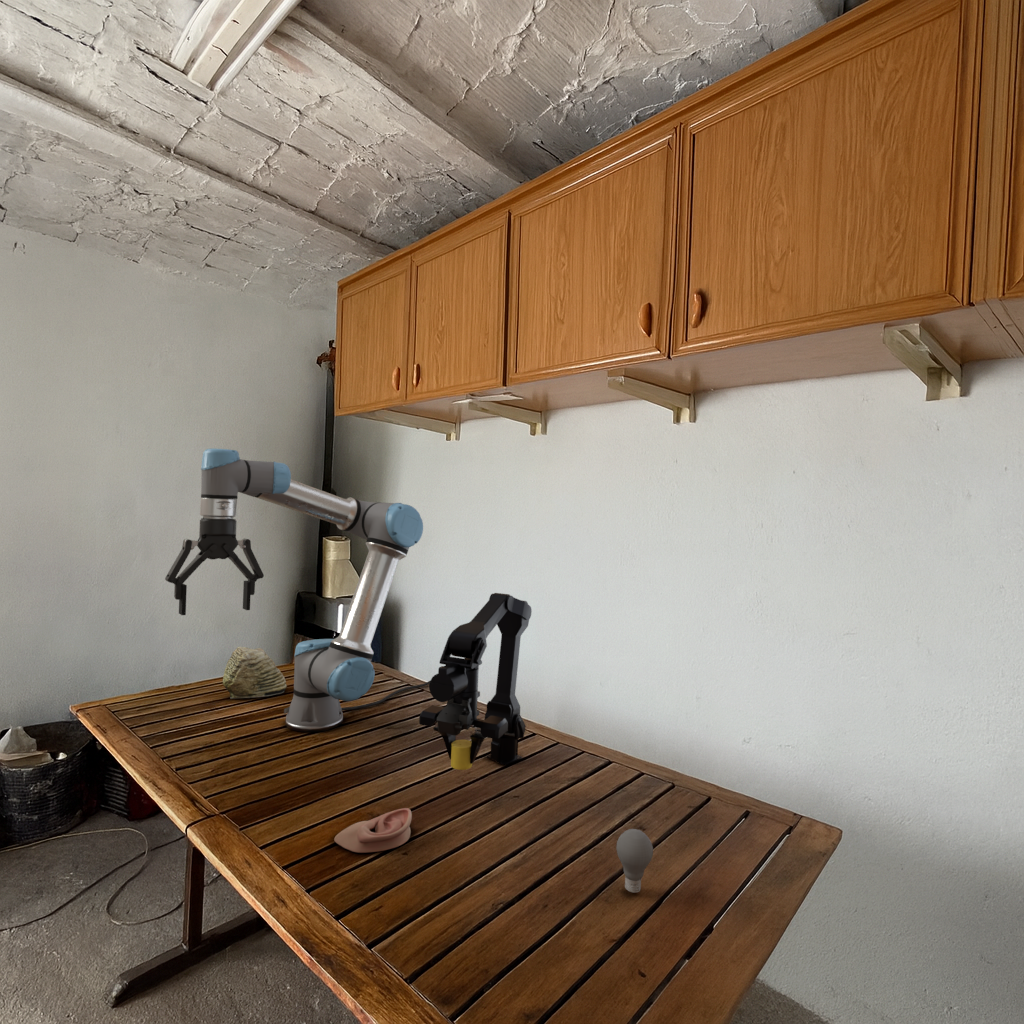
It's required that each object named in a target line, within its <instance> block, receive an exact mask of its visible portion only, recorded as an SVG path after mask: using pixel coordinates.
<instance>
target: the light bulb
mask: <svg viewBox="0 0 1024 1024" xmlns="http://www.w3.org/2000/svg"><path fill="white" fill-rule="evenodd" d="M615 849H616V854H617V857H618V859H619V861H620V863H621V865H622V867H623V873H624V874H623V875H624V876H625V878H624V888H625V890H627V891H628V892H630V893H634V894H635V893H639V892H640V891H641V889H642V887H641V886H642V879H643V877H644V875H645V871H646V868H647V867H648V866H649V864H650V863H651V861H652V859H653V855H654V847H653V843H652V841H651V838H649V836H648V835H647V834H646V833H645V832H643V831H642V830H641V829H636V828H629V829H627V830H625V831H623V832H622V833H621V834H620V835H619V837H618V839H617V841H616V847H615Z"/></svg>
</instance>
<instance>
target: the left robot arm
mask: <svg viewBox="0 0 1024 1024" xmlns="http://www.w3.org/2000/svg"><path fill="white" fill-rule="evenodd" d="M200 472H201V476H200V479H201V480H200V481H201V482H200V483H201V484H200V507H199V515H200V516H201V518H200V519H199V532H198V533H199V535H198V536H199V538H198V539H197V540H193V539H188V538H184V539H183V541H182V545H181V546H182V547H181V550H180V551H179V553H178V555H177V556H176V559H175V560H174V562H173V563H172V565H171V567H170V569H169V570H168V573H167V574H166V576H165V578H164V579H165V581H166V582H168V583H171V584H173V586H174V593H173V596H174V599H175V600H176V601H178V614H179V615H181V616H186V615H187V591H188V590H187V588H188V587H187V584H185V582H186V581H187V580H188V579H189V578H190V577H191V575H192V574H194V572H195V571H196V570H197V569H198V568H199V567H200V566H201V564H202V563H204V562H205V561H206V560H207V559H208V560H217V559H219V560H226V559H229V561H231V562H232V563H233V565H234V566H235V567H236V568H237V569H238V570H239V572H240V573H241V574H242V575H243V576H244V577H245V578H246V580H243V587H242V588H243V589H242V593H243V594H242V609H243V610H245V611H250V610H251V596H254V595H255V592H256V591H255V590H256V582H257V581H258V580H260V579H263V578H264V576H265V575H264V572H263V570H262V568H261V565H260V564H259V561H258V560H257V558H256V556H255V554H254V552H253V550H252V541H251V539H249V538H242V539H237V520H236V518H235V517H237V515H238V493H240V494H242V495H243V494H244V495H247V496H250V497H252V498H256V499H259V500H262V501H265V502H269V503H271V504H275V505H277V506H280V507H283V508H286V509H289V510H292V511H296V512H299V513H300V514H304V515H307V516H310V517H313V518H316V519H320V520H323V521H325V522H327V523H328V522H329V523H331V524H334V525H336V527H337V529H339V530H341V531H343V532H347V533H349V534H352V535H355V536H357V537H358V538H361V539H364V540H366V542H365V545H366V547H367V550H368V553H367V555H366V558H365V562H364V564H363V567H362V570H361V572H360V575H359V578H358V581H357V584H356V587H355V590H354V592H353V596H352V598H351V601H350V604H349V607H348V610H347V611H346V612H347V613H346V615H345V618H344V622H343V624H342V627H341V630H340V632H339V635H338V636H336V637H335V638H319V639H308V640H303V641H300V642H297V644H296V646H295V650H294V655H293V657H294V672H293V695H292V696H293V697H292V699H291V702H290V704H289V706H288V707H285V708H283V714H284V715H285V714H286V715H285V726H286V728H287V729H289V730H291V731H294V732H295V731H296V732H301V733H316V732H325V731H329V730H332V729H335V728H337V727H339V726H340V725H342V723H343V722H344V714H343V711H344V712H345V711H353V710H359V709H366V708H370V707H374V706H377V705H379V704H382V703H384V702H385V701H387V700H388V699H390V698H391V697H393V696H395V695H397V694H400V693H401V692H405V691H409V690H413V689H418V688H423V687H426V686H429V683H430V681H431V679H430V680H428V681H426V682H424V683H421V684H416V685H411V686H406V687H403V688H400V689H397V690H394V691H393V692H391V693H389V694H387V695H386V696H384V697H383V698H381V699H380V700H378V701H374V702H371V703H367V704H361V705H354V706H344V707H342V706H341V702H340V701H342V702H353V701H357V700H359V699H360V698H361V697H363V696H364V695H366V693H367V692H369V690H370V689H371V688H372V685H373V684H374V681H375V676H376V675H375V674H376V671H375V669H374V665H373V664H372V660H373V657H374V653H375V652H374V650H373V649H372V641H373V639H374V636H375V633H376V630H377V627H378V624H379V621H380V618H381V616H382V612H383V609H384V607H385V603H386V601H387V598H388V594H389V592H390V589H391V586H392V582H393V581H394V580H393V579H394V578H395V577H394V576H395V573H396V570H397V568H398V565H399V562H400V561H401V560H402V559H405V558H406V557H407V555H408V553H409V549H410V548H411V547H413V546H415V545H417V544H418V543H419V542H420V540H421V539H422V536H423V532H424V522H423V518H422V517H421V514H420V512H419V511H418V510H417V509H416V508H415V507H414V506H412V505H409V504H407V503H406V504H405V503H402V502H380V501H366V500H360V499H357V498H354V497H347V498H345V497H344V498H343V497H342V496H338V495H335V494H333V493H329V492H327V491H324V490H321V489H319V488H316V487H313V486H311V485H308V484H305V483H302V482H300V481H297V480H295V479H292V473H291V469H290V467H289V465H287V464H286V463H284V462H277V461H266V460H250V459H249V460H248V459H242V458H241V457H240V452H239V451H238V450H236V449H227V448H206V449H205V450H203V453H202V458H201V466H200ZM195 547H197V548H198V549H199V552H198V553H197V554H196V555H195V557H194V558H193V559H192V561H190V563H189V564H188V565H187V566H185V568H184V569H183V570H182V571H181V569H182V567H183V565H184V564H185V562H186V560H187V559H188V557H189V555H190V553H191V551H193V550H194V549H195ZM237 547H239V548H240V549H242V551H243V554H244V556H245V558H246V560H247V562H248V564H249V566H250V568H251V570H252V572H251V570H250V569H249V568H248V567H247V566H246V565H245V563H244V562H243V561H242V560H241V558H240V557H239V555H238V554H237V553H235V550H236V548H237ZM180 571H181V572H180ZM178 574H179V575H178Z"/></svg>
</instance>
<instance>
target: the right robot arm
mask: <svg viewBox="0 0 1024 1024" xmlns="http://www.w3.org/2000/svg"><path fill="white" fill-rule="evenodd" d="M532 612H533V611H532V607H531V605H529V603H528V601H527V600H521V599H518V598H516V597H514V596H513V595H511V594H508V593H502V592H494V593H491V594H490V596H489V598H488V600H487V602H486V603H485V604H484V605H483V606H482V607H481V609H480V610H479V611H478V613H476V615H474V616H473V618H472V619H471V620H470V621H469V622H467V623H463V624H460V625H459V626H456V628H454V630H452V631H451V633H450V634H449V635H448V638H447V640H446V643H445V646H444V647H443V651H442V653H441V656H440V659H439V664H440V665H441V666H439V667H438V671H437V672H438V673H436V674H434V675H433V676H432V677H431V678H430V680H431V681H430V680H429V681H430V683H429V684H428V690H429V693H430V695H431V697H432V698H433V699H434V700H436V701H437V702H439V703H446V705H445V706H440V705H434V704H431V705H430V706H428V707H427V708H425V709H423V710H422V711H421V712H420V713H419V716H418V717H419V718H418V724H419V725H420V726H424V727H429V728H430V727H432V726H433V725H434V726H433V731H434V732H437V733H438V734H439V735H440V736H441V738H442V740H443V742H444V746H445V748H446V752H447V754H448V755H447V756H448V759H449V760H451V748H452V742H453V741H455V740H457V739H456V737H457V736H458V735H460V734H461V732H462V731H463V730H469V729H470V728H473V729H474V732H473V733H471V734H470V735H469V738H470V741H471V753H470V763H471V764H472V765H473V763H474V762H475V761H476V758H477V756H478V754H479V752H480V750H481V746H482V744H483V743H484V740H485V739H486V738H487V739H491V742H490V753H489V754H487V755H486V758H487V759H489V760H490V761H493V762H495V763H498V764H499V765H502V766H508V765H511V764H513V763H515V762H518V761H521V760H522V759H523V756H521V755H519V754H518V752H519V739H524V737H525V734H526V733H525V732H526V727H527V726H526V723H525V721H524V720H523V719H524V718H522V715H521V705H520V703H519V701H518V698H517V696H516V688H517V678H518V667H519V657H520V647H521V637H522V635H523V633H524V632H525V631H526V629H527V628H528V627H529V622H530V619H531V617H532ZM496 626H497V627H498V630H499V632H500V634H501V638H500V646H499V647H500V648H499V658H498V667H497V677H496V687H495V694H494V695H493V697H492V698H491V700H488V702H487V703H486V711H485V713H484V719H481V718H478V716H480V710H479V709H478V699H479V697H481V691H479V673H480V672H479V671H480V670H479V669H480V666H481V665H482V664H483V660H482V658H483V655H484V653H485V651H486V649H487V647H488V643H487V638H488V636H489V635H490V634H491V633H492V631H493V630H494V629H495V628H496Z"/></svg>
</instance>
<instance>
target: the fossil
mask: <svg viewBox="0 0 1024 1024" xmlns="http://www.w3.org/2000/svg"><path fill="white" fill-rule="evenodd" d="M222 676H223V677H222V685H223V687H224V688H225V690H226V691H228V693H229V698H230V699H250V698H264V697H271V696H275V695H281V694H284V693H285V691H286V689H287V687H288V686H287V680H286V678H285V676H284V674H283V673H282V672H281V669H279V668H278V667H277V665H276V663H275V662H274V660H273V659H272V658H271V657H270V656H269V655H268V654H267V653H266V652H265V650H264V649H263V648H260V647H258V648H251V647H247V646H246V647H245V646H238V647H237V648H236V649H235V650H233V651H232V653H231V656H230V657H229V659H228V660H227V663H226V666H225V668H224V671H223V675H222Z"/></svg>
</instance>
